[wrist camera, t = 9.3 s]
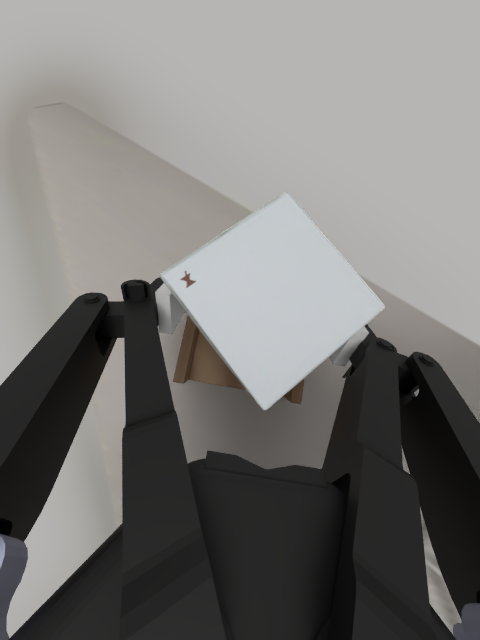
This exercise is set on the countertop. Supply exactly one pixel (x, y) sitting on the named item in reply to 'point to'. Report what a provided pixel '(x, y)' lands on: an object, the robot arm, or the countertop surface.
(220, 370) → the walnut caddy
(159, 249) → the countertop surface
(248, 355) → the supplement box
